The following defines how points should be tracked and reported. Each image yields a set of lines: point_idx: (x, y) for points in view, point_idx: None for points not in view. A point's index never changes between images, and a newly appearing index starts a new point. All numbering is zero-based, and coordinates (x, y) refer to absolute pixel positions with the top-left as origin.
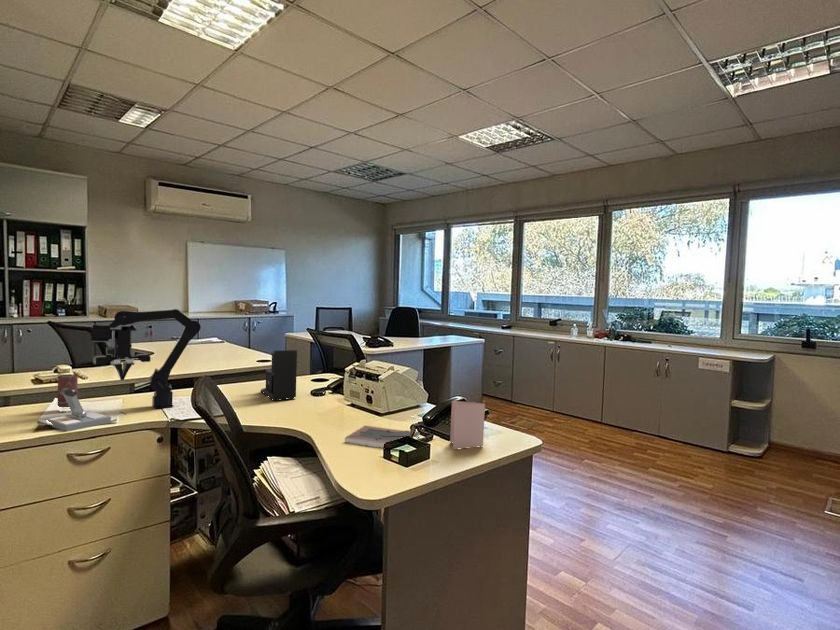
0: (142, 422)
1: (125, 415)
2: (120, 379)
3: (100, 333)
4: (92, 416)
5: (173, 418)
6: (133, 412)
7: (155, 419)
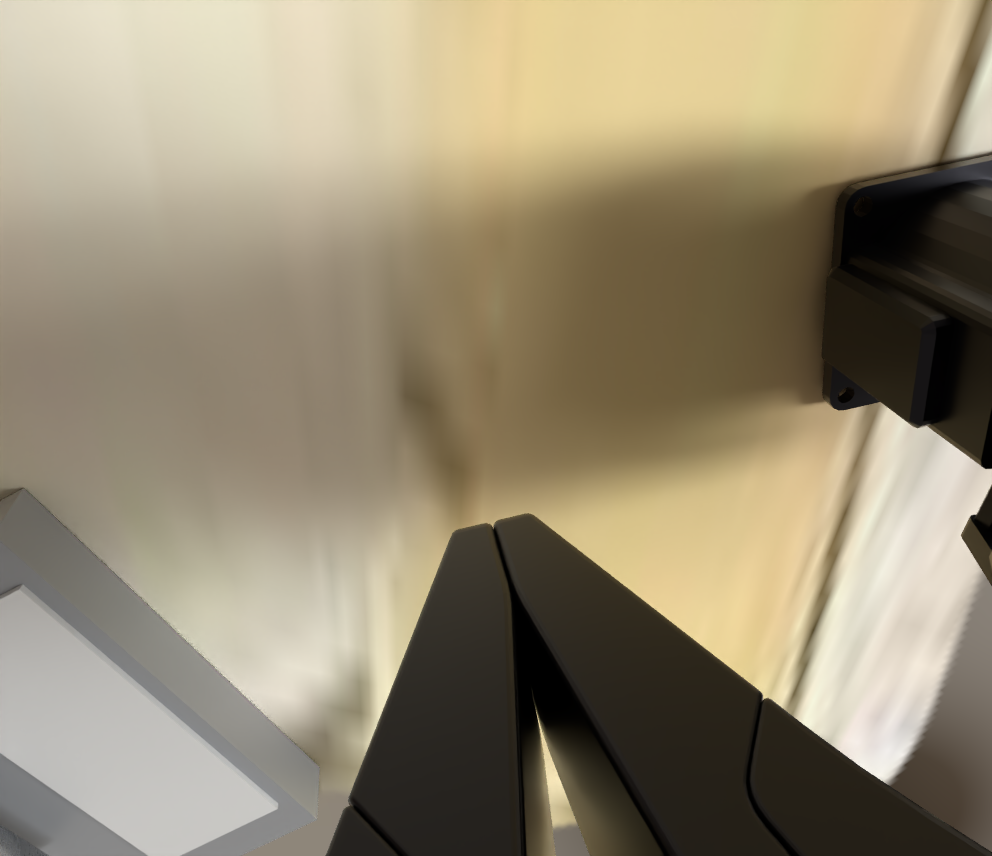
0: (571, 813)
1: None
2: (449, 545)
3: None
4: (123, 799)
5: None
6: (549, 457)
7: None
